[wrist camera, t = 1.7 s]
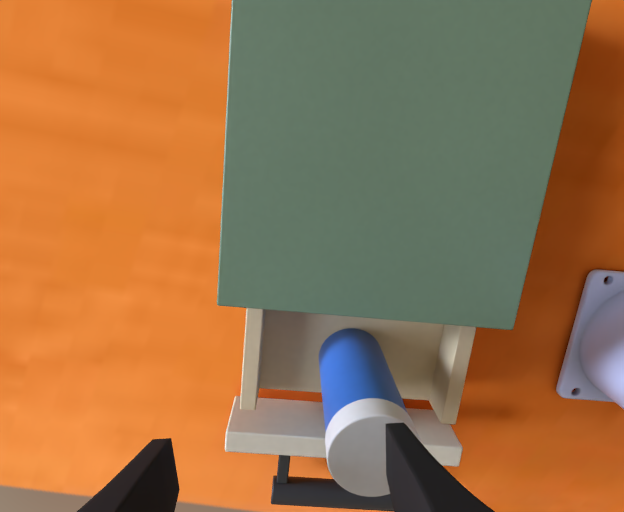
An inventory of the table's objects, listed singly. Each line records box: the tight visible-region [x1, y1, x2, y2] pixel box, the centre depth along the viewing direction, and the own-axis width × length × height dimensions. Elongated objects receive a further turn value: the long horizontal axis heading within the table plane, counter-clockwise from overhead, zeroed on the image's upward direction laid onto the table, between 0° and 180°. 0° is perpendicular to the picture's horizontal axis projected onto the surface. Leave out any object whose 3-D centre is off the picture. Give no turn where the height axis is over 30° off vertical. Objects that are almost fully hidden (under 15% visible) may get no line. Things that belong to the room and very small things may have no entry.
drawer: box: [225, 308, 476, 511], centre depth 22 cm, size 18×12×3 cm
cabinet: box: [217, 0, 592, 330], centre depth 19 cm, size 14×13×5 cm
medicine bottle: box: [319, 328, 421, 497], centre depth 19 cm, size 4×4×8 cm
